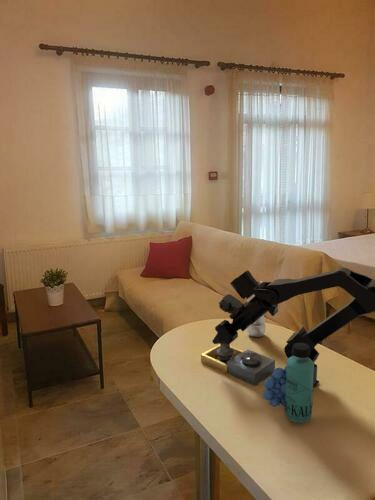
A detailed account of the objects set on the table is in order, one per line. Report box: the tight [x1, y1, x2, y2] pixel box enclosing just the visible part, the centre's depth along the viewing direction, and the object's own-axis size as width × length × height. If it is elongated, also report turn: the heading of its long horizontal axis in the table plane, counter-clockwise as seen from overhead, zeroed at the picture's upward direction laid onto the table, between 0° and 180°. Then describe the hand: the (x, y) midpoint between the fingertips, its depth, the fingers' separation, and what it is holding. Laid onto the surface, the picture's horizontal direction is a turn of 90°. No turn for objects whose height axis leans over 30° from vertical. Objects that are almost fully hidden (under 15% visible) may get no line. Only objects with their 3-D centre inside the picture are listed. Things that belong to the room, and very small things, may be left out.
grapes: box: [262, 364, 287, 408], centre depth 101 cm, size 12×7×12 cm, turn 96°
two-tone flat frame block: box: [200, 344, 276, 387], centre depth 120 cm, size 21×11×5 cm, turn 44°
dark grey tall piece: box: [216, 343, 234, 364], centre depth 123 cm, size 6×6×12 cm
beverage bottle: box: [283, 343, 315, 423], centre depth 94 cm, size 6×7×20 cm
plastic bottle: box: [246, 280, 266, 338], centre depth 139 cm, size 6×7×20 cm
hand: (220, 336), depth 123 cm, fingers open, 9 cm apart
